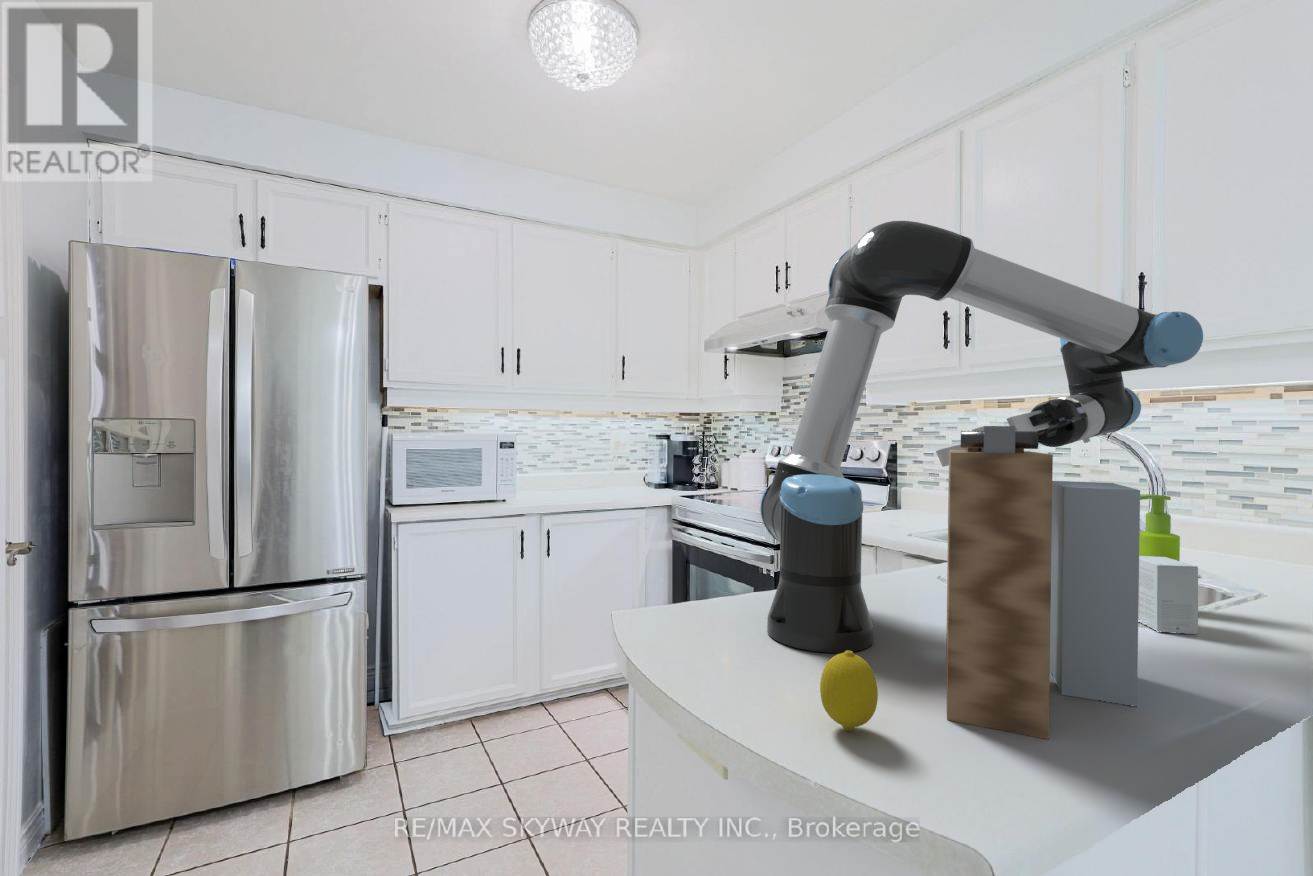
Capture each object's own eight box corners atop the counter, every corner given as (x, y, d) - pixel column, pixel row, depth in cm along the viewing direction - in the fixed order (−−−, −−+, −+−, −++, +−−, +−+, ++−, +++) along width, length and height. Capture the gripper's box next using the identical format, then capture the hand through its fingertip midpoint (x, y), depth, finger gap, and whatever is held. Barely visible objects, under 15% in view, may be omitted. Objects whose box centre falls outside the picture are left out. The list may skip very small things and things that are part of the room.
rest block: (1061, 694, 69) (1064, 487, 69) (1045, 660, 80) (1048, 480, 80) (1137, 707, 66) (1140, 490, 66) (1109, 669, 77) (1112, 482, 77)
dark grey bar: (961, 452, 63) (961, 426, 63) (955, 448, 89) (956, 429, 89) (1039, 454, 60) (1039, 426, 60) (1010, 449, 86) (1011, 429, 85)
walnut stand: (946, 719, 63) (950, 442, 63) (946, 662, 79) (949, 442, 79) (1048, 739, 59) (1052, 444, 59) (1025, 674, 75) (1029, 443, 75)
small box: (1198, 636, 91) (1200, 566, 91) (1156, 633, 92) (1157, 564, 92) (1165, 620, 99) (1166, 556, 99) (1127, 617, 100) (1127, 554, 100)
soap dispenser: (1121, 603, 109) (1122, 492, 109) (1163, 605, 108) (1165, 493, 108) (1142, 612, 103) (1144, 496, 103) (1187, 614, 102) (1189, 497, 102)
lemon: (811, 718, 63) (812, 642, 63) (862, 716, 63) (863, 641, 63) (831, 745, 57) (832, 661, 57) (887, 743, 58) (888, 660, 58)
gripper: (1156, 412, 86) (1062, 437, 78) (1010, 466, 108) (925, 490, 100) (1130, 365, 88) (1036, 385, 80) (992, 427, 110) (907, 448, 102)
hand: (974, 443), depth 90 cm, fingers open, 13 cm apart
